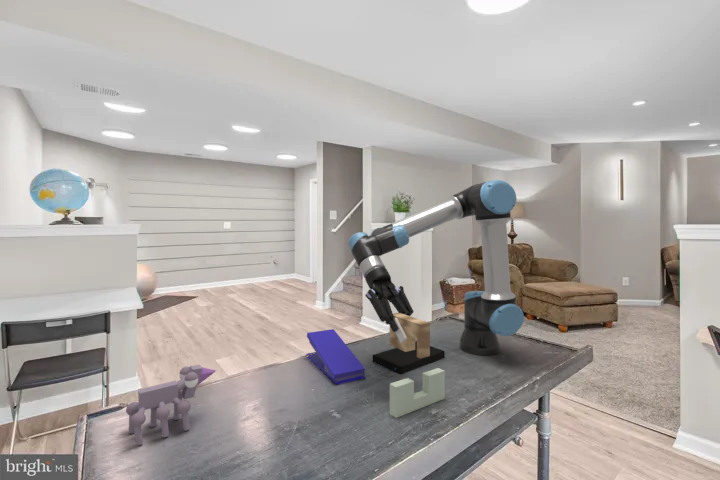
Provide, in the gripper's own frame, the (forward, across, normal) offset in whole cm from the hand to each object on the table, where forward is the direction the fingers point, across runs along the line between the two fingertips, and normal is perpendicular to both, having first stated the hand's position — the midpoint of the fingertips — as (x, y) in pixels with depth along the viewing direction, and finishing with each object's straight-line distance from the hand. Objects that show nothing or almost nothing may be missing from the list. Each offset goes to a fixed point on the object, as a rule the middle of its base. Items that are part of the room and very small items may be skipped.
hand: (409, 339), depth 99 cm
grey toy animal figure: (-3, +56, -29) cm, 63 cm away
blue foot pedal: (-11, +6, -36) cm, 38 cm away
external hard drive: (-4, -20, -29) cm, 35 cm away
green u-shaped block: (+15, 0, -10) cm, 18 cm away
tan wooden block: (+2, 0, -2) cm, 3 cm away
